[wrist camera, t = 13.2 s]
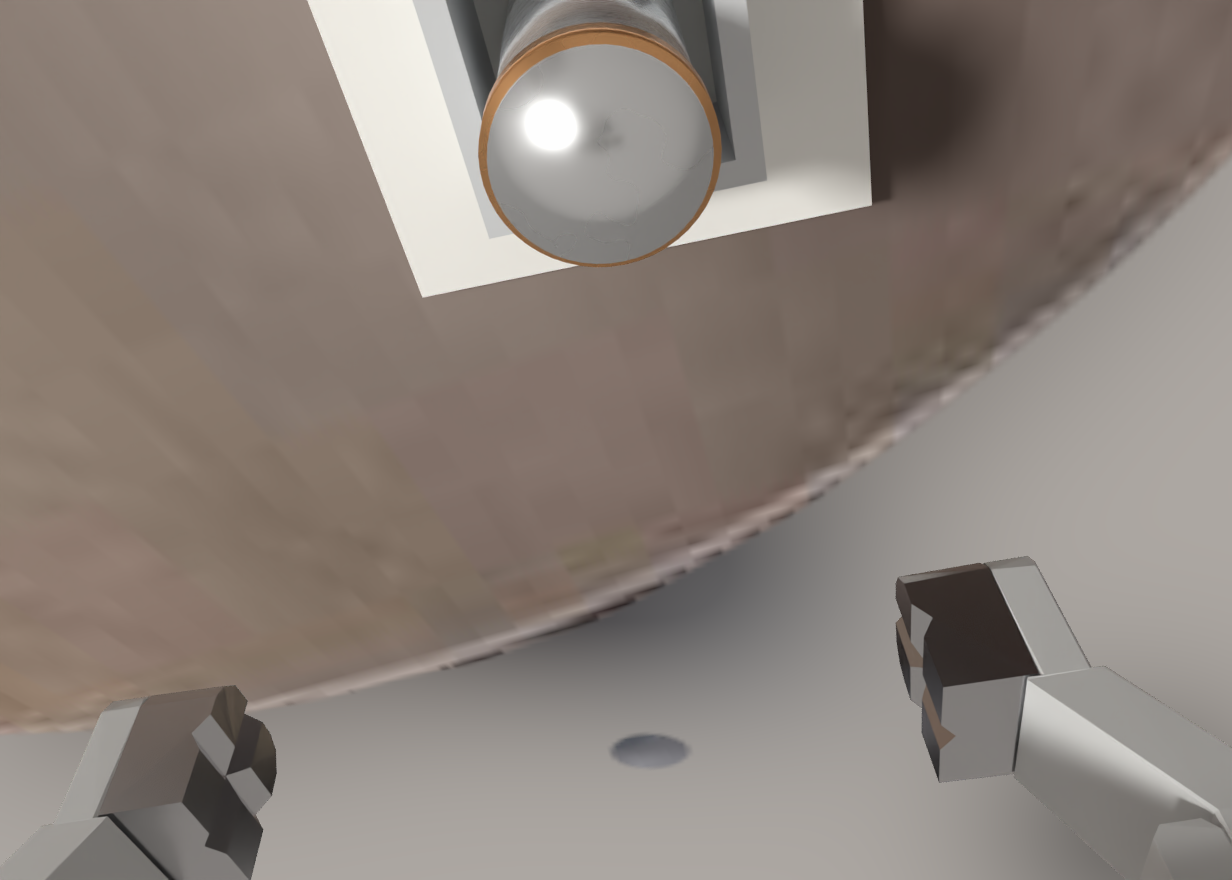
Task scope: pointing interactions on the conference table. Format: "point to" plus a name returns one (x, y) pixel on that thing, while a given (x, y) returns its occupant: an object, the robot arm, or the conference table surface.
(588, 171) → the copper rimmed tube
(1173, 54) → the conference table surface
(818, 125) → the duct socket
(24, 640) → the conference table surface
